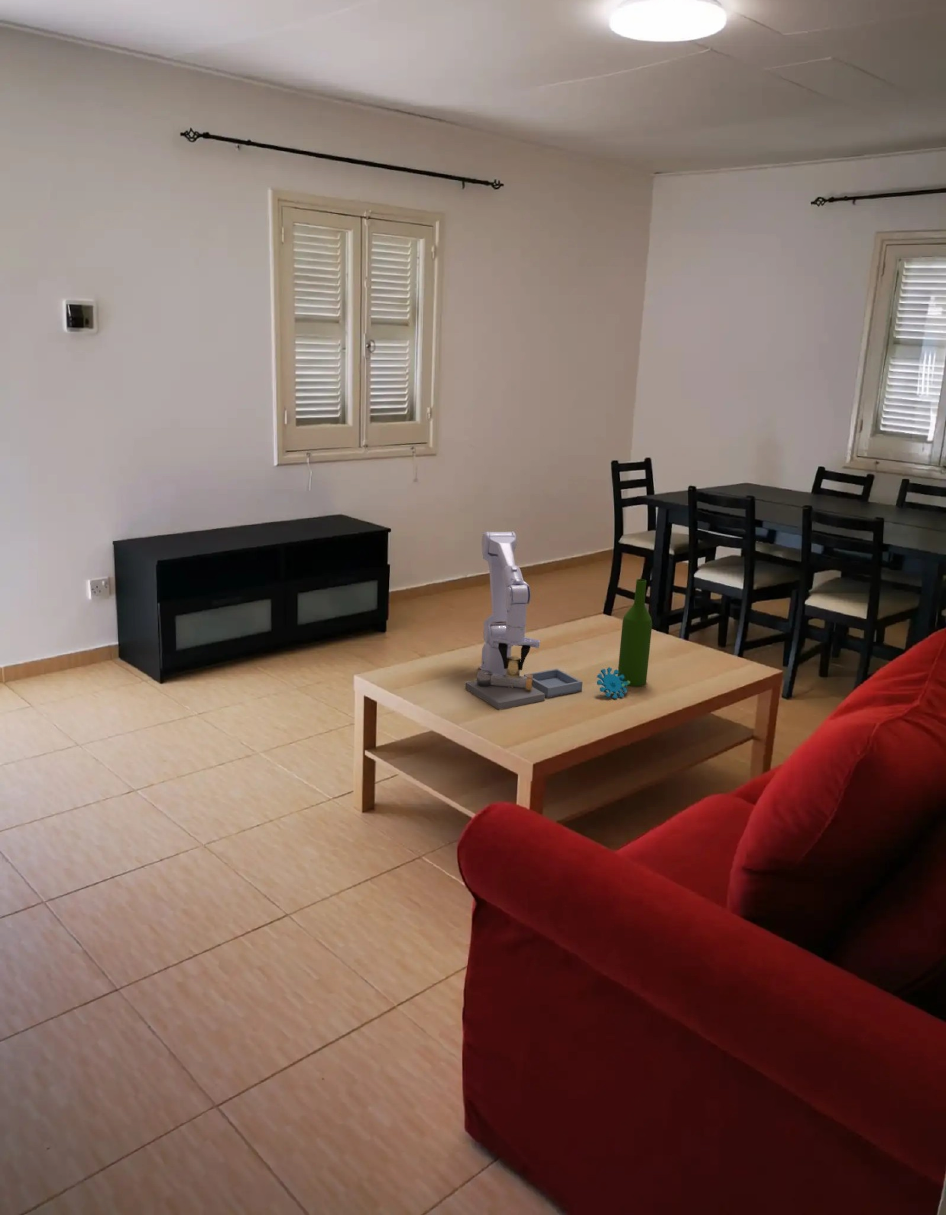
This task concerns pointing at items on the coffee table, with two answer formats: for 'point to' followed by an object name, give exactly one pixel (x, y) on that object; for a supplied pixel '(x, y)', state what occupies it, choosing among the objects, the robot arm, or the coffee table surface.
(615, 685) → the blue spiky round piece
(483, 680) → the lever
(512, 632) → the robot arm
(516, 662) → the pin
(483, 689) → the crank plate
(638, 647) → the wine bottle
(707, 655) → the coffee table surface
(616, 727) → the coffee table surface
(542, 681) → the tray
